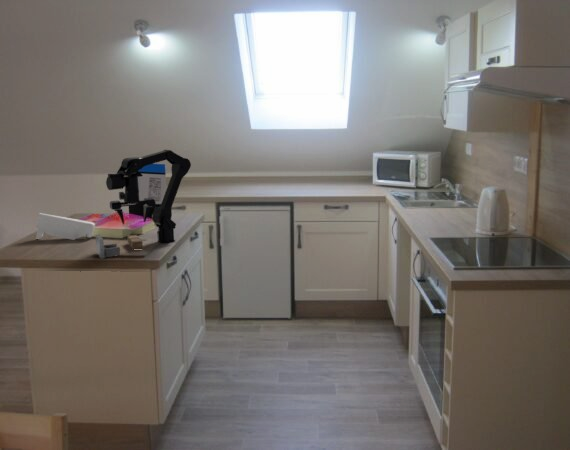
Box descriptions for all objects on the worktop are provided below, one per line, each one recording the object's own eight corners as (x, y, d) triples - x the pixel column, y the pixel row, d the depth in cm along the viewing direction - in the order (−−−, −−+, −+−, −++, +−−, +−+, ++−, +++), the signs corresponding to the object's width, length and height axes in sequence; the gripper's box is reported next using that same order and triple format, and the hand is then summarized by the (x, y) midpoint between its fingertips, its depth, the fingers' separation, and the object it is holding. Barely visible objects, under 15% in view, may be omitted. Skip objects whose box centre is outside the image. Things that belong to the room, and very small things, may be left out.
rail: (127, 244, 281) (127, 235, 280) (136, 243, 282) (136, 234, 281) (133, 251, 268) (132, 242, 267) (142, 250, 269) (142, 241, 269)
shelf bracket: (38, 238, 292) (41, 212, 290) (92, 248, 294) (96, 222, 292) (34, 241, 287) (37, 214, 285) (89, 251, 289) (92, 224, 286)
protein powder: (162, 223, 324) (159, 165, 317) (123, 219, 333) (120, 163, 326) (172, 219, 332) (170, 163, 326) (134, 216, 341) (131, 161, 335)
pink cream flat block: (61, 236, 298) (59, 214, 296) (89, 225, 322) (87, 205, 320) (134, 239, 289) (133, 218, 287) (158, 228, 313) (157, 208, 311)
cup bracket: (116, 251, 268) (114, 232, 266) (120, 256, 259) (119, 237, 257) (96, 253, 264) (95, 234, 263) (100, 258, 255) (99, 239, 254)
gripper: (148, 183, 281) (150, 217, 284) (106, 186, 273) (108, 221, 276) (155, 186, 271) (156, 222, 274) (110, 190, 263) (113, 226, 266)
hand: (133, 223), depth 273 cm, fingers open, 9 cm apart
